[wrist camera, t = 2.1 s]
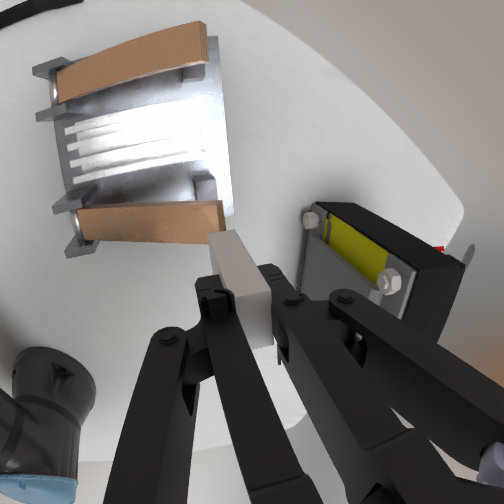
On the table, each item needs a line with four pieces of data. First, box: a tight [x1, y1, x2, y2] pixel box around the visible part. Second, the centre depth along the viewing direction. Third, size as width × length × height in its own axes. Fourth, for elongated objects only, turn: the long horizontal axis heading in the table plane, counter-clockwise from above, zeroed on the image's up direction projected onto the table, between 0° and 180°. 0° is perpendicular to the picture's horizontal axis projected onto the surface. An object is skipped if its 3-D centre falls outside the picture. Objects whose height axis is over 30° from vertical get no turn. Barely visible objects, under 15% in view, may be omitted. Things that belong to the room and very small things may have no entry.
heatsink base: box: [32, 36, 234, 258], centre depth 27 cm, size 18×20×9 cm
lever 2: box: [77, 200, 226, 244], centre depth 24 cm, size 14×3×1 cm, turn 95°
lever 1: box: [57, 21, 209, 103], centre depth 19 cm, size 14×3×1 cm, turn 95°
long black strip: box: [0, 0, 83, 29], centre depth 19 cm, size 3×16×3 cm, turn 93°
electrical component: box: [300, 202, 465, 343], centre depth 35 cm, size 18×10×20 cm, turn 176°
